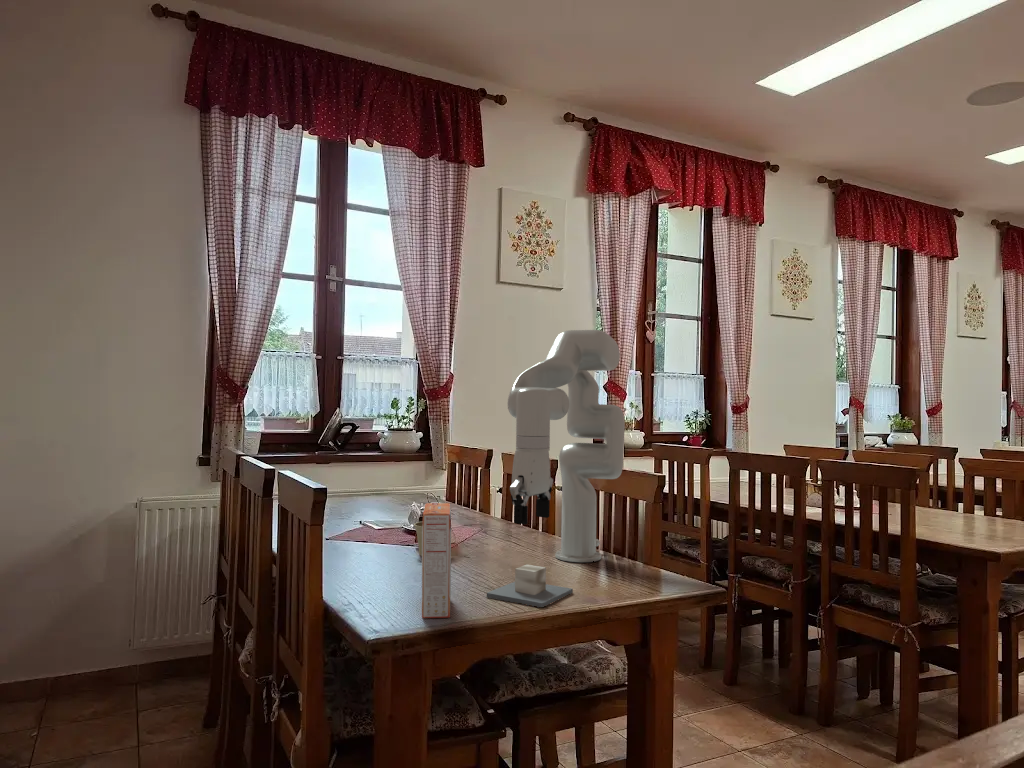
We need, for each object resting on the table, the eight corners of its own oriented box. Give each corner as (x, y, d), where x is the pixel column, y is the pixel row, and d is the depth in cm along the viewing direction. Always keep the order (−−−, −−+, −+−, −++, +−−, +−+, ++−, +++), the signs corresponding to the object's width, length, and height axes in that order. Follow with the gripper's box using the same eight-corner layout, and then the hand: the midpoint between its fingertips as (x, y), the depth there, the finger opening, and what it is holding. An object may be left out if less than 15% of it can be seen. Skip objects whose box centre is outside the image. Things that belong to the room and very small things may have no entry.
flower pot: (406, 556, 197) (407, 525, 197) (423, 550, 206) (424, 519, 206) (437, 560, 193) (438, 527, 194) (453, 553, 202) (453, 522, 202)
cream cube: (526, 586, 164) (526, 564, 164) (545, 589, 162) (545, 567, 162) (514, 591, 160) (515, 568, 160) (534, 594, 157) (534, 571, 158)
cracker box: (422, 599, 156) (424, 502, 157) (450, 599, 157) (452, 502, 157) (419, 619, 142) (421, 512, 143) (450, 619, 143) (452, 512, 143)
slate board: (519, 583, 170) (519, 579, 170) (572, 593, 163) (572, 588, 163) (486, 597, 159) (486, 592, 159) (542, 608, 151) (542, 603, 151)
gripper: (537, 440, 171) (536, 513, 171) (497, 445, 156) (496, 524, 156) (565, 442, 167) (564, 516, 167) (527, 447, 152) (526, 528, 152)
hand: (531, 520), depth 161 cm, fingers open, 9 cm apart
